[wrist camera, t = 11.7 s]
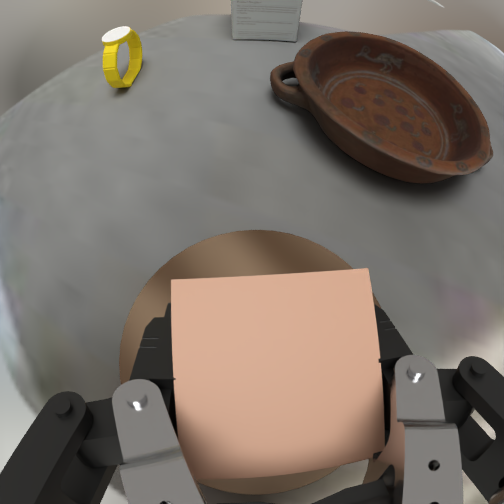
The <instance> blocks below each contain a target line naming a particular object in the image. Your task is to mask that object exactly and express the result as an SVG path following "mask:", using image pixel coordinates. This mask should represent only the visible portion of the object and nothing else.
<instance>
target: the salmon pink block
mask: <svg viewBox="0 0 504 504" xmlns="http://www.w3.org/2000/svg"><path fill="white" fill-rule="evenodd" d="M171 326H172V357H173V377H174V378H176V380H174V393H175V407H176V419H177V430H178V440H179V444H180V446H181V449H182V451H183V454H184V456H185V458H186V461H187V463H188V465H189V468H190V470H191V472H192V474H193V475H194V476H195V479H239V478H256V477H268V476H278V475H286V474H294V473H301V472H308V471H314V470H320V469H325V468H330V467H335V466H340V465H345V464H349V463H353V462H358V461H362V460H365V459H369V458H372V456H373V453H377V452H380V451H383V449H384V448H385V428H384V402H383V385H382V372H381V363H379V361H378V359H380V350H379V341H378V332H377V324H376V316H375V309H374V302H373V295H372V289H371V282H370V276H369V271H368V268H364V269H351V270H337V271H322V272H307V273H291V274H275V275H257V276H239V277H219V278H197V279H173V280H171Z"/></svg>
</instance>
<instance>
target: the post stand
mask: <svg viewBox="0 0 504 504" xmlns="http://www.w3.org/2000/svg"><path fill="white" fill-rule="evenodd" d="M351 269H353V268H352V267H351V266H350V265H349V264H347V263H346V262H345V261H344V260H342V259H341V258H340V257H339V256H337V255H336V254H334V253H333V252H331V251H329V250H328V249H326V248H324V247H323V246H321V245H319V244H316V243H314V242H312V241H310V240H308V239H305V238H302V237H298V236H295V235H292V234H288V233H282V232H277V231H267V230H247V231H236V232H231V233H226V234H221V235H218V236H215V237H212V238H209V239H206V240H203V241H201V242H199V243H197V244H195V245H193V246H190V247H188V248H187V249H185V250H184V251H182V252H181V253H179V254H177V255H176V256H174V257H173V258H172V259H171V260H169V261H168V262H167V263H166V264H165V265H163V266H162V267H161V268H160V269H159V270H158V271H157V272H156V273H155V274H154V275H153V276H152V278H151V279H150V280H149V281H148V282H147V284H146V285H145V286H144V288H143V289H142V291H141V292H140V294H139V295H138V297H137V299H136V301H135V303H134V304H133V306H132V308H131V310H130V313H129V315H128V318H127V321H126V324H125V327H124V331H123V335H122V340H121V345H120V358H119V366H120V380H121V385H122V384H123V383H125V382H128V381H129V379H130V376H131V372H132V369H133V365H134V362H135V359H136V356H137V352H138V349H139V348H140V343H141V339H142V336H143V333H144V330H145V327H146V326H147V325H148V324H149V322H150V321H151V320H152V319H153V318H154V317H164V315H165V311H166V308H167V304H168V303H171V280H173V279H197V278H219V277H239V276H257V275H275V274H291V273H307V272H322V271H337V270H351ZM372 295H373V302H374V304H375V305H377V306H378V307H379V308H381V307H380V305H379V303H378V301H377V299H376V298H375V296H374V294H373V292H372ZM340 466H341V465H340ZM340 466H335V467H330V468H325V469H320V470H314V471H308V472H301V473H294V474H286V475H278V476H268V477H256V478H239V479H196V480H197V482H199V483H201V484H203V485H206V486H208V487H212V488H215V489H218V490H222V491H226V492H232V493H239V494H255V495H263V494H272V493H281V492H285V491H289V490H293V489H297V488H300V487H303V486H305V485H308V484H310V483H313V482H315V481H317V480H319V479H321V478H323V477H325V476H326V475H328V474H330V473H332V472H333V471H334V470H336V469H337V468H338V467H340Z"/></svg>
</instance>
